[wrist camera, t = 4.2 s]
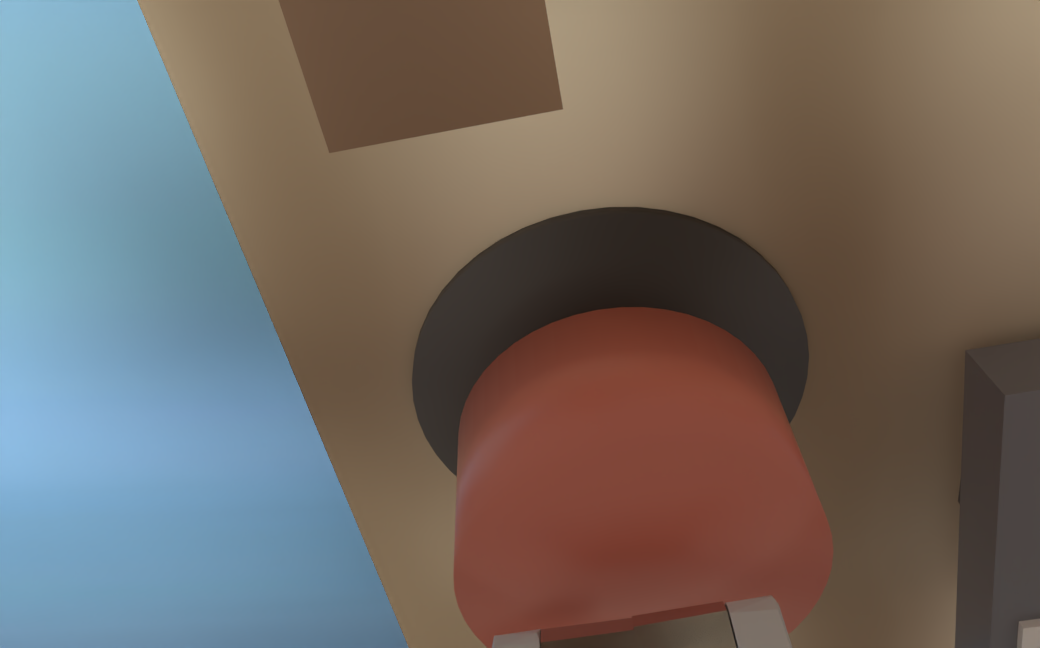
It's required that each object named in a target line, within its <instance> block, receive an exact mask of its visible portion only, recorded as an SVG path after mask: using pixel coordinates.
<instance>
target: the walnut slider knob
mask: <svg viewBox="0 0 1040 648" xmlns="http://www.w3.org/2000/svg"><path fill="white" fill-rule="evenodd" d="M279 3H280V6H281V9H282V12H283V15H284V18H285V21H286V24H287V27H288V30H289V33H290V36H291V39H292V42H293V45H294V48H295V51H296V54H297V57H298V60H299V63H300V67H301V70H302V73H303V76H304V79H305V82H306V85H307V88H308V91H309V94H310V97H311V100H312V103H313V106H314V109H315V112H316V115H317V118H318V121H319V124H320V127H321V130H322V133H323V136H324V139H325V142H326V145H327V148H328V151H329V153H333V152H339V151H344V150H349V149H355V148H360V147H365V146H370V145H376V144H381V143H386V142H392V141H397V140H402V139H408V138H413V137H418V136H424V135H429V134H434V133H440V132H445V131H450V130H455V129H461V128H466V127H471V126H477V125H482V124H487V123H493V122H498V121H503V120H509V119H514V118H519V117H525V116H530V115H535V114H541V113H546V112H551V111H556V110H562V109H563V105H562V99H561V93H560V87H559V82H558V76H557V70H556V64H555V58H554V52H553V46H552V40H551V34H550V28H549V22H548V16H547V11H546V5H545V0H279Z"/></svg>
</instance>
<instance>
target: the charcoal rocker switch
mask: <svg viewBox="0 0 1040 648" xmlns="http://www.w3.org/2000/svg"><path fill="white" fill-rule="evenodd" d="M955 648H1040V338H1038V339H1032V340H1026V341H1020V342H1013V343H1007V344H1001V345H995V346H989V347H982V348H976V349H970V350H965V374H964V403H963V431H962V459H961V487H960V515H959V543H958V572H957V600H956V628H955Z"/></svg>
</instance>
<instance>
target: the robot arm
mask: <svg viewBox="0 0 1040 648" xmlns="http://www.w3.org/2000/svg"><path fill="white" fill-rule="evenodd" d="M492 648H792V645H791V641H790V638H789V635H788V632H787V629H786V626H785V622H784V619H783V616H782V613H781V610H780V607H779V604H778V603H777V602H776V600H775V599H774V598H773V596H772V595H767V596H762V597H756V598H750V599H744V600H738V601H732V602H726V603H725V604H724V603H723V601H721V602H715V603H709V604H703V605H696V606H690V607H684V608H678V609H672V610H666V611H660V612H654V613H648V614H641V615H635V616H632V618H625V619H617V620H610V621H602V622H594V623H587V624H579V625H571V626H563V627H556V628H548V629H537V630H530V631H524V632H517V633H510V634H503V635H496V636H494V639H493V644H492Z"/></svg>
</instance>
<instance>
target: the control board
mask: <svg viewBox="0 0 1040 648" xmlns="http://www.w3.org/2000/svg"><path fill="white" fill-rule="evenodd" d="M137 1H138V3H139V5H140V8H141V10H142V13H143V15H144V17H145V20H146V22H147V25H148V27H149V29H150V32H151V34H152V36H153V39H154V41H155V44H156V46H157V48H158V51H159V53H160V56H161V58H162V60H163V63H164V65H165V67H166V70H167V72H168V75H169V77H170V79H171V82H172V84H173V86H174V89H175V91H176V94H177V96H178V98H179V101H180V103H181V106H182V108H183V110H184V113H185V115H186V117H187V120H188V122H189V125H190V127H191V129H192V132H193V134H194V137H195V139H196V141H197V144H198V146H199V148H200V151H201V153H202V156H203V158H204V160H205V163H206V165H207V168H208V170H209V172H210V175H211V177H212V179H213V182H214V184H215V187H216V189H217V191H218V194H219V196H220V199H221V201H222V203H223V206H224V208H225V210H226V213H227V215H228V218H229V220H230V222H231V225H232V227H233V230H234V232H235V234H236V237H237V239H238V241H239V244H240V246H241V249H242V251H243V253H244V256H245V258H246V260H247V263H248V265H249V268H250V270H251V272H252V275H253V277H254V280H255V282H256V284H257V287H258V289H259V291H260V294H261V296H262V299H263V301H264V303H265V306H266V308H267V311H268V313H269V315H270V318H271V320H272V322H273V325H274V327H275V330H276V332H277V334H278V337H279V339H280V342H281V344H282V346H283V349H284V351H285V353H286V356H287V358H288V361H289V363H290V365H291V368H292V370H293V373H294V375H295V377H296V380H297V382H298V384H299V387H300V389H301V392H302V394H303V396H304V399H305V401H306V403H307V406H308V408H309V411H310V413H311V415H312V418H313V420H314V423H315V425H316V427H317V430H318V432H319V434H320V437H321V439H322V442H323V444H324V446H325V449H326V451H327V454H328V456H329V458H330V461H331V463H332V465H333V468H334V470H335V473H336V475H337V477H338V480H339V482H340V485H341V487H342V489H343V492H344V494H345V496H346V499H347V501H348V504H349V506H350V508H351V511H352V513H353V516H354V518H355V520H356V523H357V525H358V527H359V530H360V532H361V535H362V537H363V539H364V542H365V544H366V547H367V549H368V551H369V554H370V556H371V558H372V561H373V563H374V566H375V568H376V570H377V573H378V575H379V577H380V580H381V582H382V585H383V587H384V589H385V592H386V594H387V597H388V599H389V601H390V604H391V606H392V608H393V611H394V613H395V616H396V618H397V620H398V623H399V625H400V628H401V630H402V632H403V635H404V637H405V639H406V642H407V644H408V647H409V648H487V647H486V646H485V645H484V644H483V643H482V642H481V641H480V640H479V639H478V638H477V637H476V636H475V635H474V633H473V632H472V630H471V629H470V627H469V626H468V625H467V623H466V622H465V620H464V618H463V616H462V614H461V611H460V609H459V607H458V604H457V600H456V596H455V592H454V577H453V570H454V542H455V514H456V485H457V457H458V432H459V425H460V418H461V414H462V411H463V408H464V405H465V402H466V400H467V398H468V396H469V394H470V392H471V390H472V388H473V386H474V384H475V383H476V382H477V380H478V379H479V377H480V376H481V375H482V373H483V372H484V370H485V369H486V368H487V367H488V366H489V365H490V364H491V363H492V362H493V361H494V360H495V359H496V358H497V357H498V356H499V355H500V354H501V353H503V352H504V351H505V350H506V349H508V348H509V347H510V346H511V345H513V344H514V343H515V342H517V341H519V340H520V339H522V338H523V337H525V336H527V335H528V334H530V333H532V332H533V331H536V330H538V329H540V328H542V327H544V326H546V325H548V324H550V323H552V322H555V321H558V320H561V319H564V318H567V317H570V316H573V315H577V314H581V313H586V312H590V311H594V310H601V309H610V308H618V307H647V308H657V309H666V310H671V311H675V312H680V313H684V314H688V315H691V316H694V317H697V318H700V319H702V320H705V321H708V322H710V323H712V324H714V325H716V326H718V327H720V328H722V329H724V330H726V331H727V332H729V333H730V334H731V335H733V336H734V337H736V338H737V339H739V340H740V341H742V342H743V343H744V344H745V345H746V346H747V347H748V348H749V349H750V350H751V351H752V352H753V353H754V354H755V355H756V356H757V358H758V359H759V360H760V362H761V363H762V364H763V365H764V367H765V368H766V370H767V372H768V374H769V376H770V378H771V380H772V382H773V384H774V386H775V389H776V391H777V394H778V396H779V399H780V401H781V404H782V406H783V409H784V411H785V414H786V416H787V419H788V422H789V424H790V427H791V429H792V432H793V434H794V437H795V439H796V442H797V444H798V447H799V449H800V452H801V454H802V457H803V459H804V462H805V464H806V467H807V469H808V472H809V474H810V477H811V479H812V482H813V484H814V487H815V489H816V492H817V495H818V497H819V500H820V502H821V505H822V507H823V510H824V512H825V515H826V517H827V520H828V523H829V527H830V530H831V533H832V540H833V560H832V568H831V572H830V575H829V578H828V581H827V585H826V587H825V589H824V590H823V592H822V594H821V596H820V598H819V600H818V602H817V603H816V604H815V606H814V607H813V609H812V610H811V611H810V613H809V614H808V615H807V617H806V618H805V619H804V620H803V621H802V622H801V623H800V624H799V625H798V626H797V627H796V628H795V629H794V630H793V631H792V632H791V633H789V634H788V635H789V638H790V641H791V645H792V648H955V628H956V600H957V572H958V543H959V515H960V487H961V459H962V431H963V403H964V374H965V350H970V349H976V348H982V347H989V346H995V345H1001V344H1007V343H1013V342H1020V341H1026V340H1032V339H1038V338H1040V0H545V5H546V11H547V16H548V22H549V28H550V34H551V40H552V46H553V52H554V58H555V64H556V70H557V76H558V82H559V87H560V93H561V99H562V105H563V109H562V110H556V111H551V112H546V113H541V114H535V115H530V116H525V117H519V118H514V119H509V120H503V121H498V122H493V123H487V124H482V125H477V126H471V127H466V128H461V129H455V130H450V131H445V132H440V133H434V134H429V135H424V136H418V137H413V138H408V139H402V140H397V141H392V142H386V143H381V144H376V145H370V146H365V147H360V148H355V149H349V150H344V151H339V152H333V153H329V151H328V148H327V145H326V142H325V139H324V136H323V133H322V130H321V127H320V124H319V121H318V118H317V115H316V112H315V109H314V106H313V103H312V100H311V97H310V94H309V91H308V88H307V85H306V82H305V79H304V76H303V73H302V70H301V67H300V63H299V60H298V57H297V54H296V51H295V48H294V45H293V42H292V39H291V36H290V33H289V30H288V27H287V24H286V21H285V18H284V15H283V12H282V9H281V6H280V3H279V0H137Z"/></svg>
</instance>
